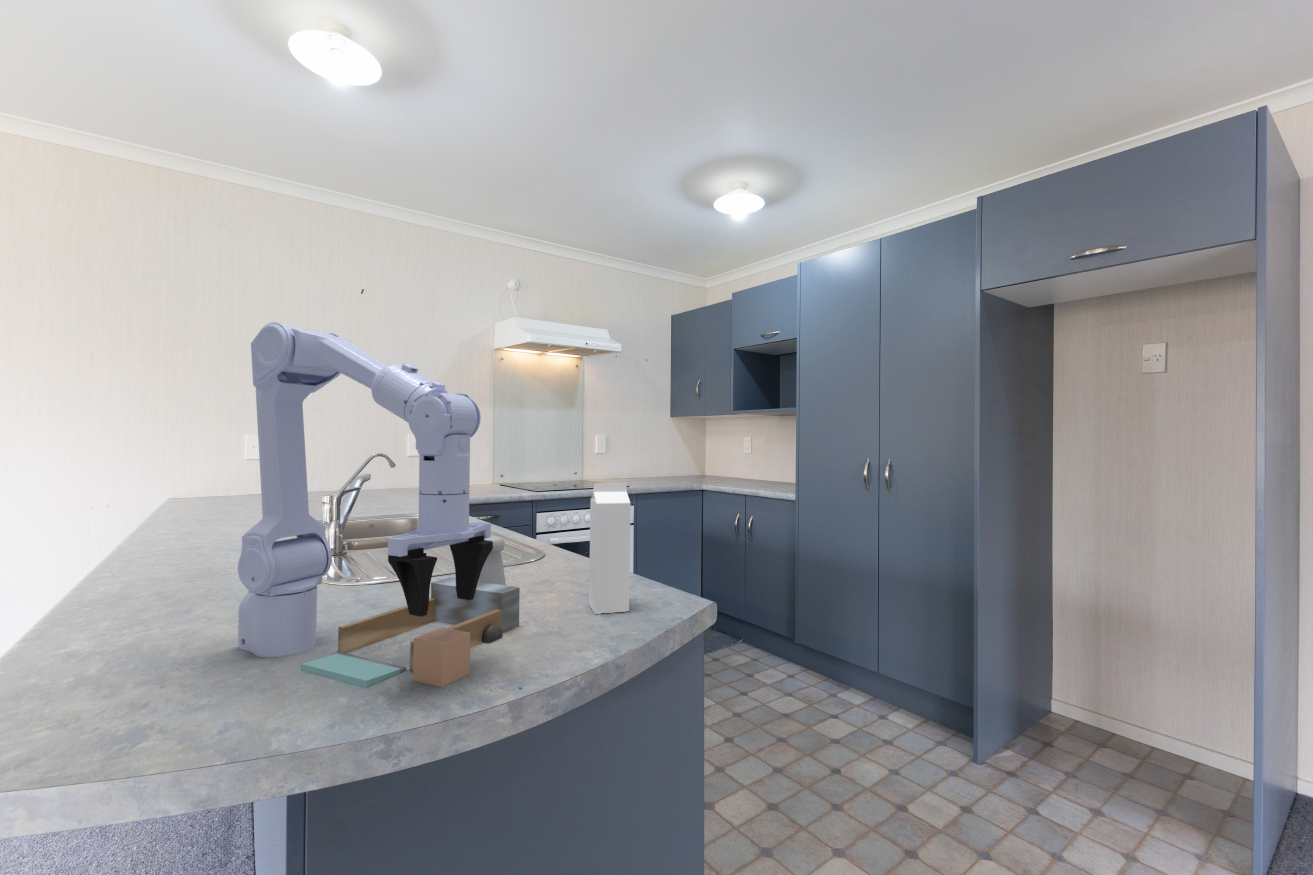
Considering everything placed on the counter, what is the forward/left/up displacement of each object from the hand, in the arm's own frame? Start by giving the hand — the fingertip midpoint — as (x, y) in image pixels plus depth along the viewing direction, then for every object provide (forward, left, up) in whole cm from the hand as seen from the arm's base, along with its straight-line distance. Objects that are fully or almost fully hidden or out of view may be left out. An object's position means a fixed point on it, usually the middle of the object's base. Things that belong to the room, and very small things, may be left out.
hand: (442, 606), depth 71 cm
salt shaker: (-14, +25, -10) cm, 30 cm away
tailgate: (-11, -1, -8) cm, 14 cm away
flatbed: (-11, +10, -9) cm, 17 cm away
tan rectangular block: (0, 0, -9) cm, 9 cm away
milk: (+2, +37, -10) cm, 38 cm away
